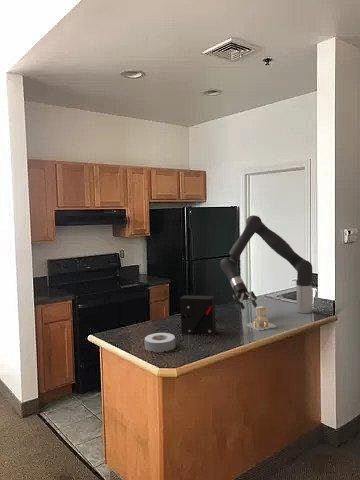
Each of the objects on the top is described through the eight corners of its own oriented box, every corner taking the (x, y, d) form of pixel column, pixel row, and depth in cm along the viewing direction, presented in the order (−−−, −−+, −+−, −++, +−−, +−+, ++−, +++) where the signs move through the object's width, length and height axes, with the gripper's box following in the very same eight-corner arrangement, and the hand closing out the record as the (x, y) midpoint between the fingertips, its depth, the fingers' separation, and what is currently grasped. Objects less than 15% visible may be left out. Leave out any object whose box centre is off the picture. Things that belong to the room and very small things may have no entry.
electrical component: (216, 330, 224) (215, 295, 223) (212, 336, 215) (210, 299, 213) (186, 328, 230) (185, 294, 229) (181, 334, 220) (179, 298, 219)
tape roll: (178, 350, 196) (177, 340, 195) (147, 354, 193) (146, 343, 192) (172, 340, 211) (171, 331, 210) (143, 344, 208) (142, 334, 207)
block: (256, 324, 229) (255, 307, 228) (261, 323, 231) (261, 306, 230) (260, 326, 225) (259, 308, 225) (266, 325, 227) (265, 307, 226)
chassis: (246, 325, 231) (246, 319, 231) (263, 322, 236) (263, 316, 236) (258, 330, 220) (258, 324, 220) (276, 327, 225) (276, 321, 225)
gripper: (230, 283, 241) (242, 306, 231) (250, 280, 247) (262, 302, 237) (226, 290, 246) (237, 313, 236) (245, 287, 252) (257, 309, 242)
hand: (249, 307), depth 237 cm, fingers open, 8 cm apart
